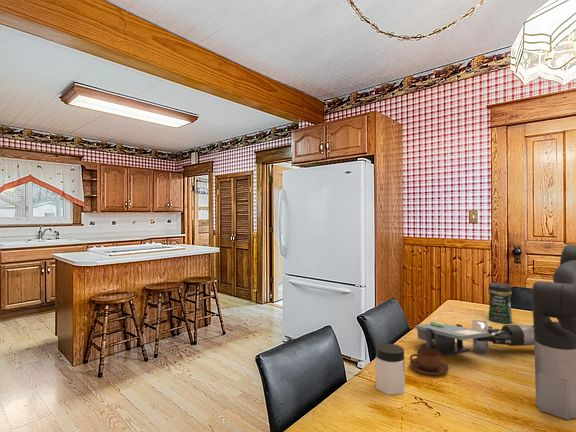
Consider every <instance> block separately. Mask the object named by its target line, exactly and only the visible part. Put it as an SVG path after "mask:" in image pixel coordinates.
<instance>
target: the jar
mask: <svg viewBox="0 0 576 432" xmlns="http://www.w3.org/2000/svg"><path fill="white" fill-rule="evenodd" d="M374 359H375V389H376V390H378V391H380V392H382V393H384V394H385V395H389V396H390V395H403V394H404V391H405V388H406V376H405V375H406V373H405V372H406V371H405V349H404V348H403V346H401V345H399V344H396V343H387V342H386V343H379V344H377V345H376V346H375V358H374Z"/></svg>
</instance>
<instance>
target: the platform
mask: <svg viewBox="0 0 576 432" xmlns="http://www.w3.org/2000/svg"><path fill="white" fill-rule="evenodd" d="M426 328H430V329H432V341H435V337H434V333H435V334H439V335H443V336H447V337H451V338H455V340H457V339H459V340H463V341H465V340H473V338H481V337H488V336H490V335H489V333H488V332H484V331H479V330H474V329H472V328H468V327H464V326H462V327H459V326H456V325H454V324H448V323H443V322H440V321H435V320H434V321H433V320H430V322H429V323H424V324H416V325H414V329H415V330H416V331H417V339H419V340H422V341H425V342H427V341H426Z"/></svg>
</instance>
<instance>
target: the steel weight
mask: <svg viewBox="0 0 576 432" xmlns="http://www.w3.org/2000/svg"><path fill="white" fill-rule="evenodd" d="M471 324H472V325H471V327H472V328H471V329H474V330H479V331H484V332H488V327H489V323H488V322H487V321H485V320H481V319H474V320H471ZM489 350H490V349H489V342H488V341H478V340H477V338H473V339H472V351H473V352H474V353H477V354H482V355H487V354H489V353H490V351H489Z"/></svg>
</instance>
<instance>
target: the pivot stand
mask: <svg viewBox="0 0 576 432" xmlns="http://www.w3.org/2000/svg"><path fill="white" fill-rule="evenodd" d="M455 326H459V327H463V325H462V324H460V323H457V324H456V325H455ZM434 337H435V340H434V344H433V340H432V329H430V328H426V341H425V342H426V345H421V346H420V348H432V349H435V350H438V351H439V352H440V353H441V357H442V356H449V355H455V354H456V355H457V354H463V353H469V352H471V348H470V347H468V346H465V345H464V340H459V339H455V338H451V337H447V336H443V335H439V334H435V333H434Z"/></svg>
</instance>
